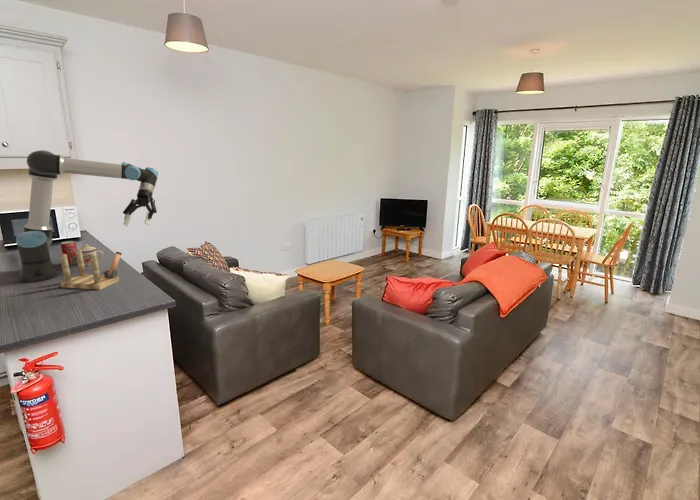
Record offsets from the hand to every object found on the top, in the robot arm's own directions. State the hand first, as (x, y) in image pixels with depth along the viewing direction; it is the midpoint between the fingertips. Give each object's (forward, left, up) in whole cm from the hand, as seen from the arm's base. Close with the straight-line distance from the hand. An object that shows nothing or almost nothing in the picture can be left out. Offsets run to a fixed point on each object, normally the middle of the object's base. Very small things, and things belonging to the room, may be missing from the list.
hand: (136, 224), depth 209 cm
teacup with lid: (-30, -1, -25) cm, 39 cm away
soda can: (-41, -3, -25) cm, 48 cm away
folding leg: (+2, -28, -21) cm, 35 cm away
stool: (-5, -32, -24) cm, 40 cm away
